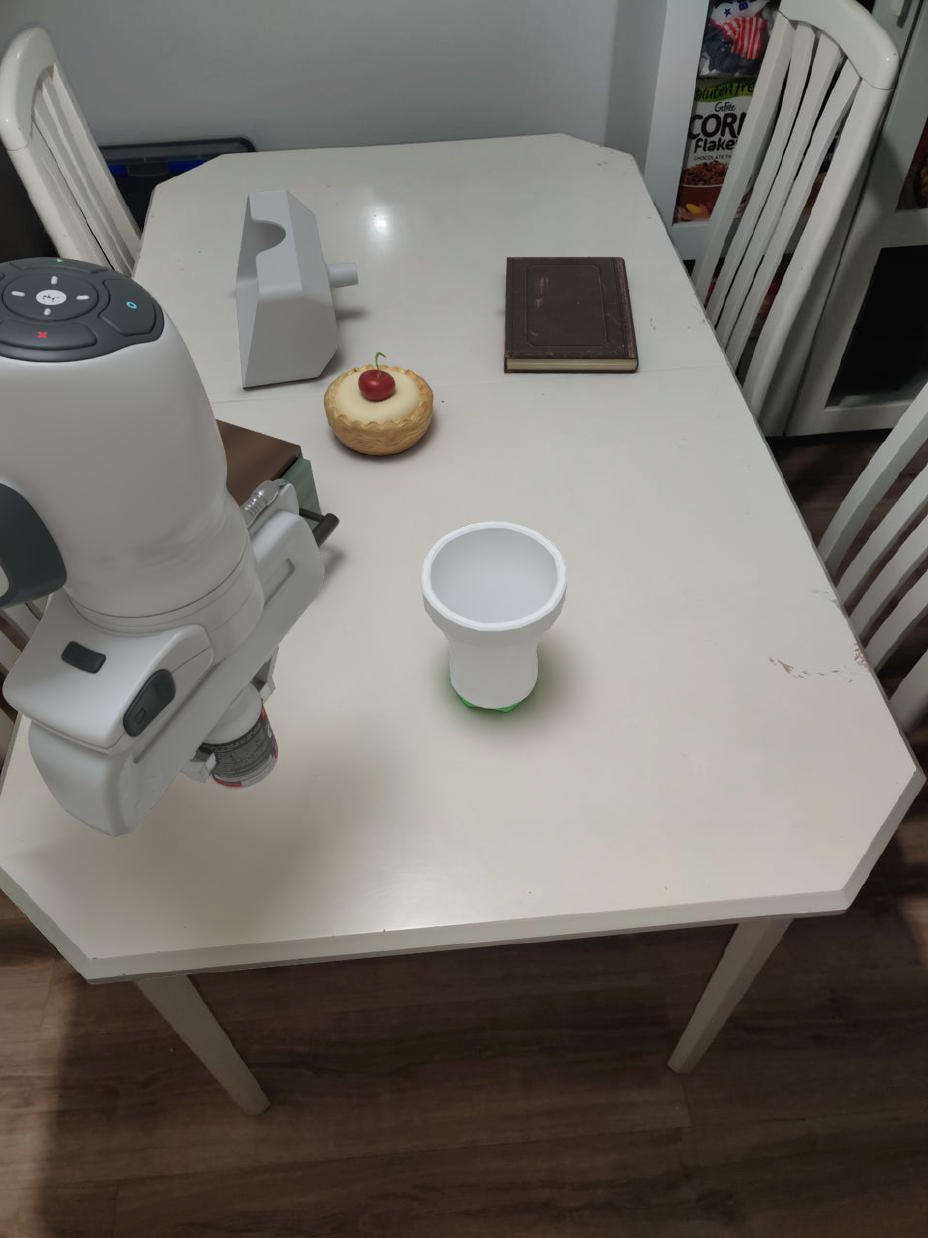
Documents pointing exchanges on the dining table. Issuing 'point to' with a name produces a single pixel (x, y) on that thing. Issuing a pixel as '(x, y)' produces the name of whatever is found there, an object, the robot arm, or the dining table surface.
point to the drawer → (310, 500)
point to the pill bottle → (243, 743)
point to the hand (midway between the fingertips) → (231, 732)
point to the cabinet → (253, 459)
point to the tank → (285, 292)
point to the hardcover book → (568, 316)
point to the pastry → (379, 408)
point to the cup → (493, 607)
